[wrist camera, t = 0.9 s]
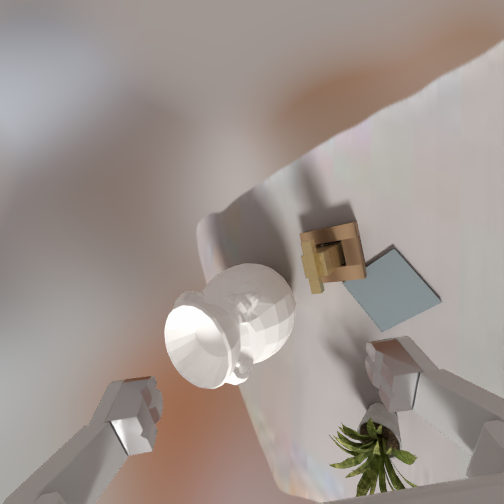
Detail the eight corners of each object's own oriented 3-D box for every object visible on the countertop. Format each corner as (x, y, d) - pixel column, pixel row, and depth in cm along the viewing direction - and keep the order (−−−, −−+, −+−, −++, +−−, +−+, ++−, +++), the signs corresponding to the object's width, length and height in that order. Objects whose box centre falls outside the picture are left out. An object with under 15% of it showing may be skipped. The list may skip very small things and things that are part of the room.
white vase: (328, 305, 53) (269, 374, 32) (272, 348, 62) (199, 424, 41) (268, 238, 58) (183, 261, 37) (225, 287, 67) (137, 328, 46)
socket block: (356, 221, 47) (353, 222, 45) (367, 274, 48) (364, 278, 45) (305, 232, 53) (299, 233, 50) (315, 279, 53) (310, 283, 51)
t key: (340, 230, 49) (316, 239, 38) (348, 271, 50) (328, 292, 38) (321, 233, 51) (294, 243, 40) (330, 273, 52) (305, 294, 40)
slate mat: (394, 248, 45) (394, 248, 44) (441, 300, 43) (441, 302, 42) (343, 282, 51) (342, 283, 50) (382, 330, 48) (381, 332, 48)
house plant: (405, 370, 47) (400, 440, 34) (448, 444, 46) (461, 548, 32) (336, 385, 55) (309, 446, 41) (371, 448, 53) (354, 533, 40)
